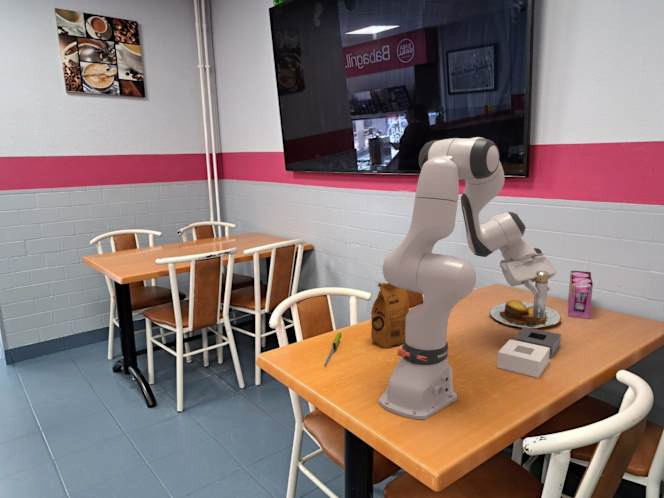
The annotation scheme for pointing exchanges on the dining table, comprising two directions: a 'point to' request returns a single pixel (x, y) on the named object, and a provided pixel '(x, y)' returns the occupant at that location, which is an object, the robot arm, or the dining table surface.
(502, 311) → the food on plate
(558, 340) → the socket block
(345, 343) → the dining table surface
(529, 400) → the dining table surface
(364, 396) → the dining table surface
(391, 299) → the coffee package
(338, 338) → the kitchen knife
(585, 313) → the gum box
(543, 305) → the shiny cylindrical peg
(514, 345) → the rack block
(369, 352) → the dining table surface
